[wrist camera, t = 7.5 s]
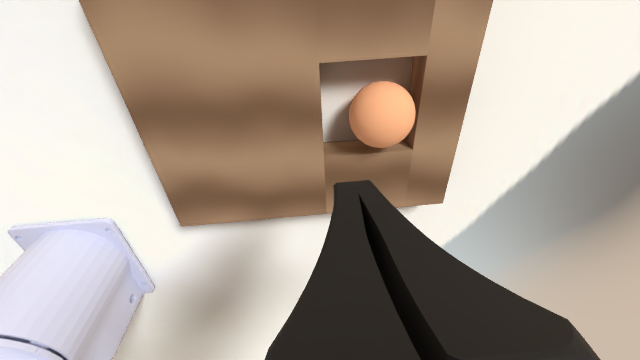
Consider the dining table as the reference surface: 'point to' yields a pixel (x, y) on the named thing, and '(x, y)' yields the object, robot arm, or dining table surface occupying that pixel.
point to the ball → (382, 114)
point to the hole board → (284, 97)
